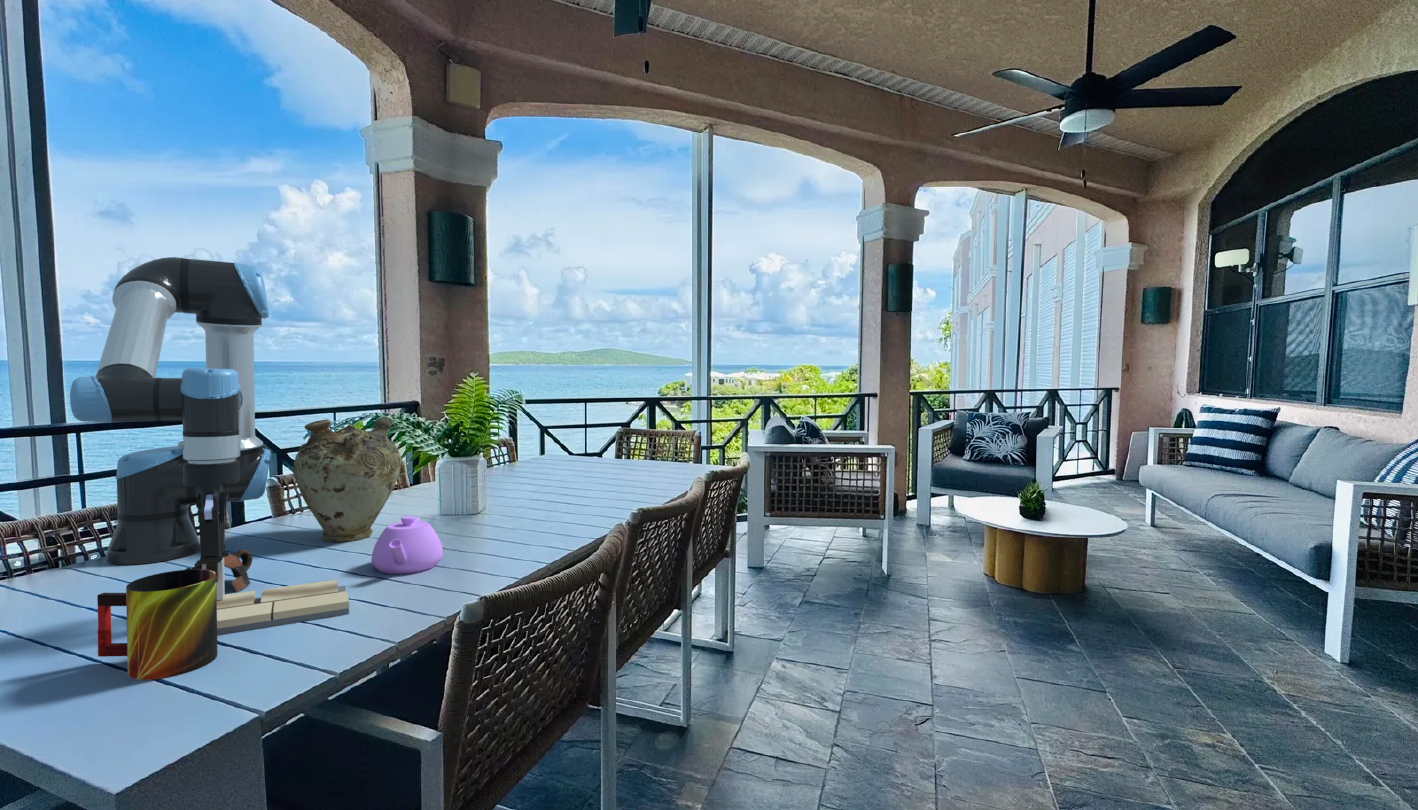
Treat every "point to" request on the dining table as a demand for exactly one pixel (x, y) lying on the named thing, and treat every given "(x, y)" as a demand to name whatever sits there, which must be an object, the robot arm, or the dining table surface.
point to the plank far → (298, 591)
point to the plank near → (236, 600)
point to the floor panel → (282, 612)
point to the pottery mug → (236, 568)
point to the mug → (164, 623)
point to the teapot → (407, 547)
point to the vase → (347, 477)
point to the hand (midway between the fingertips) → (213, 598)
